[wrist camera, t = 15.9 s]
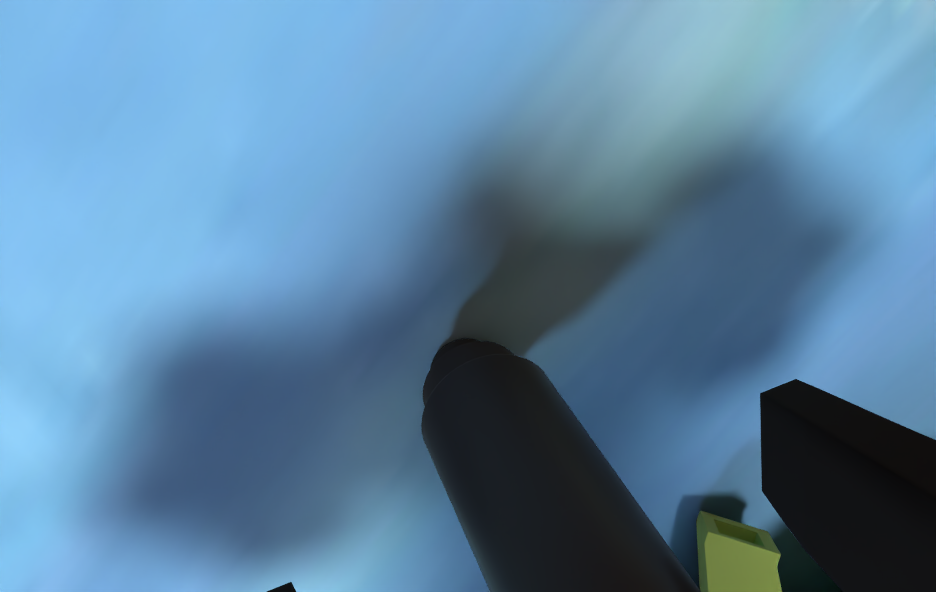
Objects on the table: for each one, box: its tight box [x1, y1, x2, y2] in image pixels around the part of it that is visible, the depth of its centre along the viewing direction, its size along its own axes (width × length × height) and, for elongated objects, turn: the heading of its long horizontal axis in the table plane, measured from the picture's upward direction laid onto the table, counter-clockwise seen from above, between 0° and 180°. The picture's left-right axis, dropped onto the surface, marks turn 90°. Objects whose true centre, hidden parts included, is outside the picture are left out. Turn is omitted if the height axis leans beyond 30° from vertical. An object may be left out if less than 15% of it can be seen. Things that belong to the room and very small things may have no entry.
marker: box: [421, 338, 701, 592], centre depth 11 cm, size 2×2×9 cm
